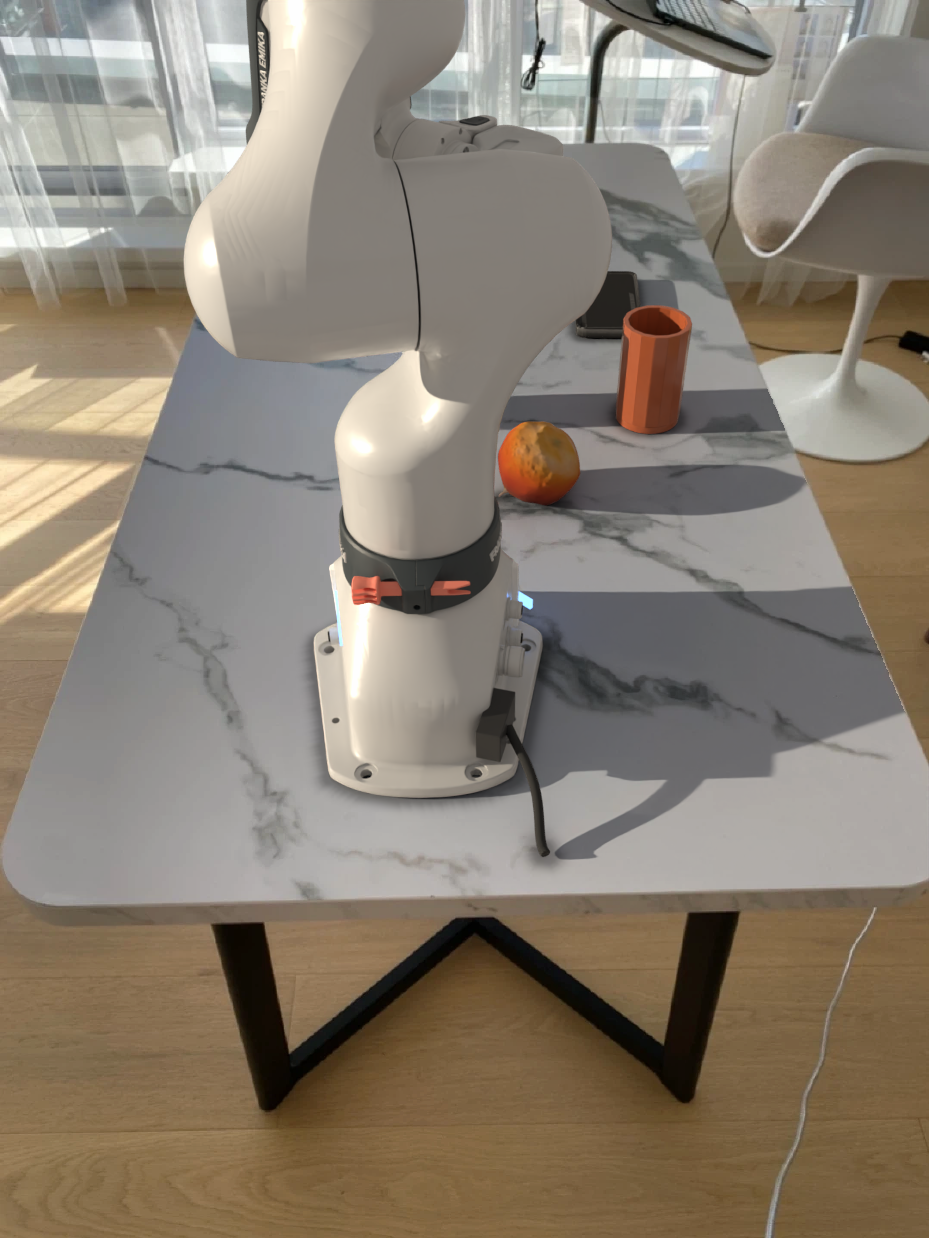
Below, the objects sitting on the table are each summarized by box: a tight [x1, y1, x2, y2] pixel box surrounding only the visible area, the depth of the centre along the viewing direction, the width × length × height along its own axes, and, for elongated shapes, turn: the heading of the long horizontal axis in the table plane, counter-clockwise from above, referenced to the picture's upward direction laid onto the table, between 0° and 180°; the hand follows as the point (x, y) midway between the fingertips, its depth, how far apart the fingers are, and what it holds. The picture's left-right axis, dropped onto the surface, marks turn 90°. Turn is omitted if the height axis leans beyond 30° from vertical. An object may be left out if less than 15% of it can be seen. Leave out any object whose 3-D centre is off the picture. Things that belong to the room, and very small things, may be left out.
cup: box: [615, 304, 693, 435], centre depth 107 cm, size 7×7×11 cm
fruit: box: [497, 421, 581, 507], centre depth 100 cm, size 8×8×8 cm
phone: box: [574, 270, 642, 339], centre depth 128 cm, size 8×1×15 cm
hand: (555, 200), depth 102 cm, fingers open, 8 cm apart
